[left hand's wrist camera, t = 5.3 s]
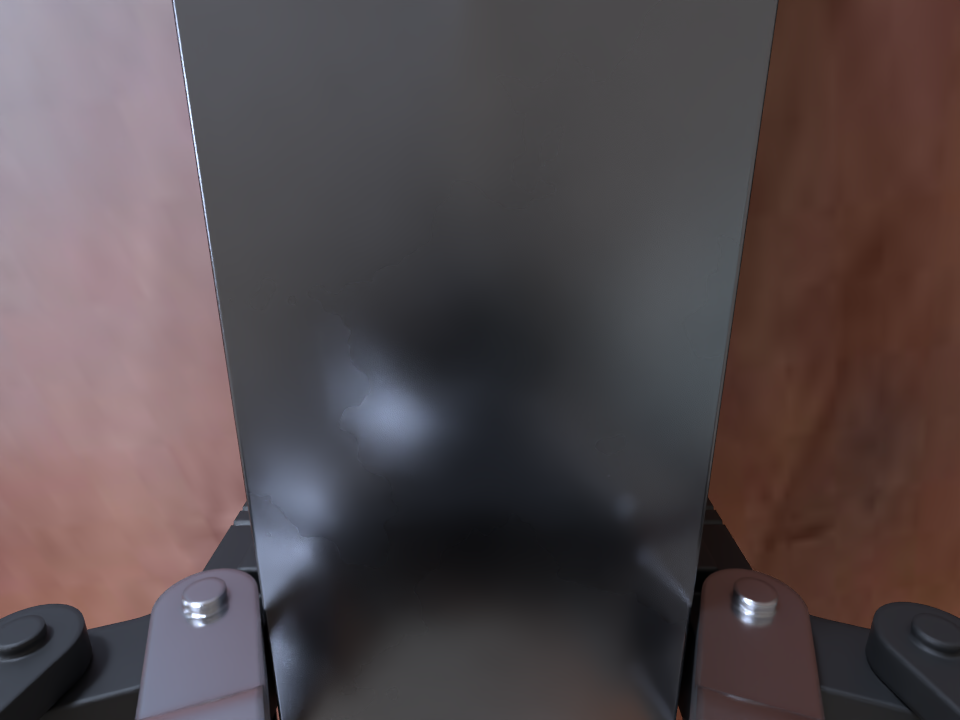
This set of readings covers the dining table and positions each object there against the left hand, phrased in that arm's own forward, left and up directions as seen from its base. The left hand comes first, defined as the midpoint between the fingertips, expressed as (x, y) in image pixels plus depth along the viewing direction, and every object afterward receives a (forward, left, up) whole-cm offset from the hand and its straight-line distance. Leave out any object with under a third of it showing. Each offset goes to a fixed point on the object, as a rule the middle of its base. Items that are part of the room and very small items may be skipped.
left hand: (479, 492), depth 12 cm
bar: (+8, 0, -4) cm, 9 cm away
